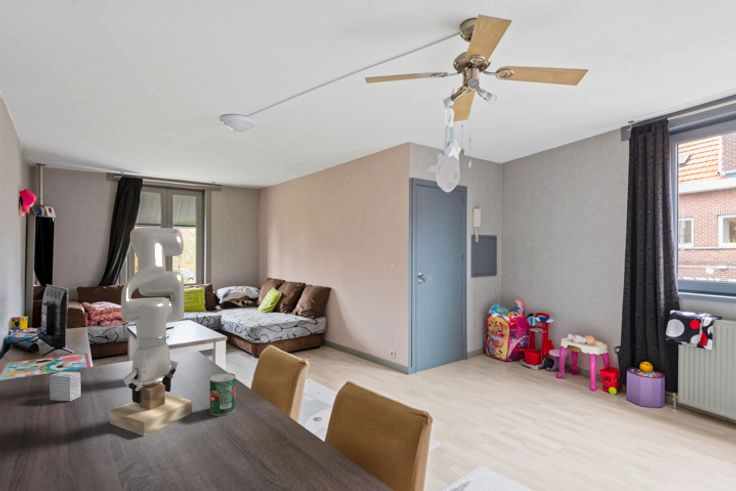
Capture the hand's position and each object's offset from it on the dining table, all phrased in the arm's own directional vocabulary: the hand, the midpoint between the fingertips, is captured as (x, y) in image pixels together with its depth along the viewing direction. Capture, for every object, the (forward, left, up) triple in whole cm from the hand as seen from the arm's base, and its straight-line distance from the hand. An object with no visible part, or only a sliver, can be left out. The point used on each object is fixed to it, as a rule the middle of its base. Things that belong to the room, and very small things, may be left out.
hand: (152, 396), depth 119 cm
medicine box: (+4, -40, -7) cm, 41 cm away
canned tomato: (-14, +15, -7) cm, 22 cm away
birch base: (0, 0, -7) cm, 7 cm away
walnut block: (0, 0, -3) cm, 3 cm away
